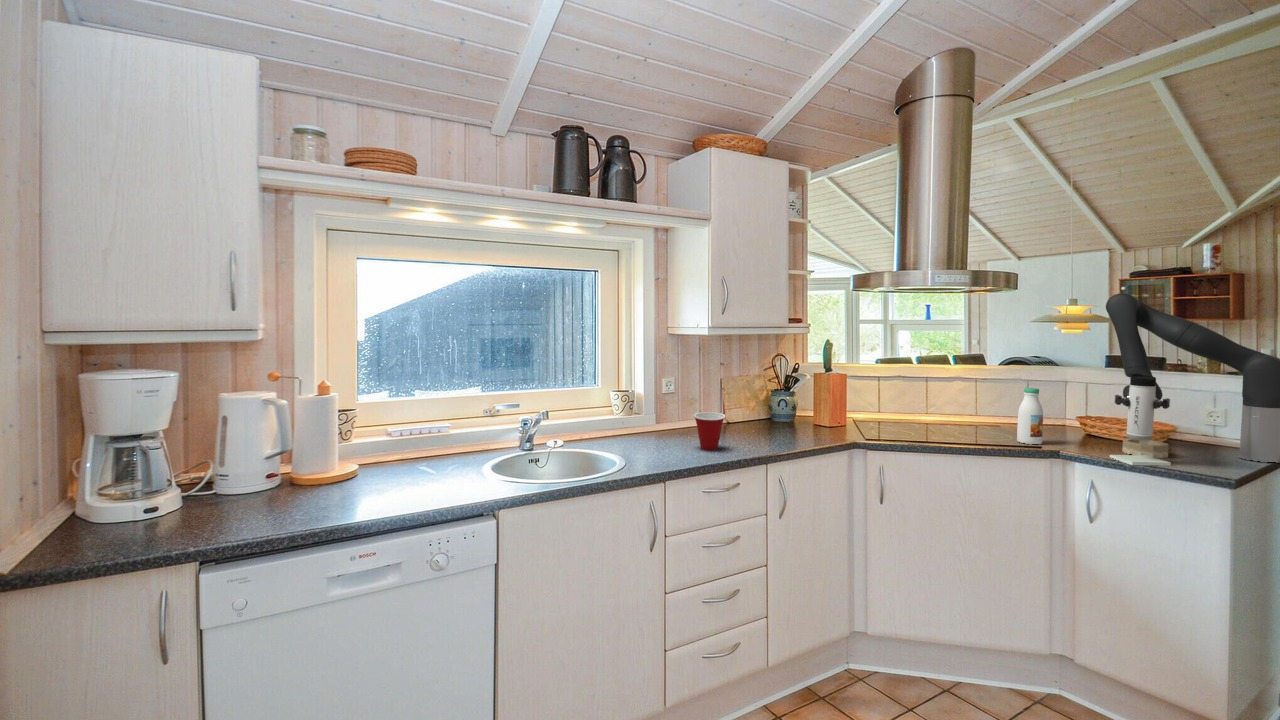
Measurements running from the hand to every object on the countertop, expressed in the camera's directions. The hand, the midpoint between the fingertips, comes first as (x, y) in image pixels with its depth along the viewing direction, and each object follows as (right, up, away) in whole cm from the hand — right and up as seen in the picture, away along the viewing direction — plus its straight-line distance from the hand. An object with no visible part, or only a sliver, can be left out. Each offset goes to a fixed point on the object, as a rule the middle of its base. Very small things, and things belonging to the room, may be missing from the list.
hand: (1141, 404), depth 186 cm
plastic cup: (-131, -17, +22) cm, 134 cm away
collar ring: (+13, -18, +14) cm, 26 cm away
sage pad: (+2, -18, +3) cm, 19 cm away
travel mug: (+1, -11, +3) cm, 11 cm away
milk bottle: (-14, -17, +32) cm, 39 cm away
